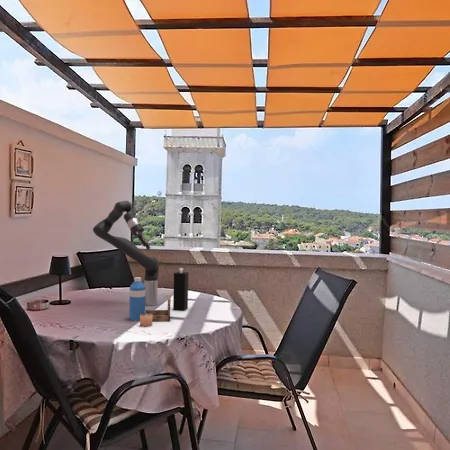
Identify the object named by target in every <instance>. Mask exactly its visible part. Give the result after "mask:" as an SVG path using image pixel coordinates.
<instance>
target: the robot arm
mask: <svg viewBox="0 0 450 450" xmlns="http://www.w3.org/2000/svg"><path fill="white" fill-rule="evenodd" d="M124 212H125V214H124ZM122 216H123V219H124V221H125V223H126V224H127V227H128V228H129V230H130V233H131V234H132V236H135V237H137V239H138V241H139V242H141V244H142V246H143V247H144V248H146V250H151V246H150V245H149V241H148V240H147V238H146V236H145V235H144V228H143V226H142V224H141V222H140V221H139V220H138V219H137V216H136V215H135V213H134V209H133V206H132V203H131V201H129V200H122V201H118V202H116V203H115V204H114V206H113V209H112V210H111V211H110V212H109V214H108V216H107V217H105V218H104V219H102V220H101V221H99V222H98V223H97V224H96V225H95V226H94V227H92V231H93V233H94V235H95V236H97V237H98V238H100V239H101V240H103V241H105V242H106V243H109V244H110V245H112V246H113V247H114V248H116V249H118V251H120V252H122V253H123V254H125V255H126V256H128V257H129V258H131V259H133V260H134V261H136V262H137V263H138V264H139V265H140V266H141V267H142V268H143V269H145V272H144V273H145V274H144V277H143V280H144V281H143V284H144V285H145V287H146V288H145V306H149V307H150V306H157V305H158V280H159V277H158V276H159V267H160V266H159V265H160V264H159V260H158V258H156V257H155V256H148V255H147V254H145V253H144V252H142V251H141V250H140V248H138V246H137V245H136V244H134V243H133V242H132V241H131V240H129V239H128V238H125V237H122V236H121V237H120V236H115V235H113V234H110V233H109V232H110V231H111V229H112V228H113V225H114V224H115V223H117V221H119V220H120V219H121V217H122Z"/></svg>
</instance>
